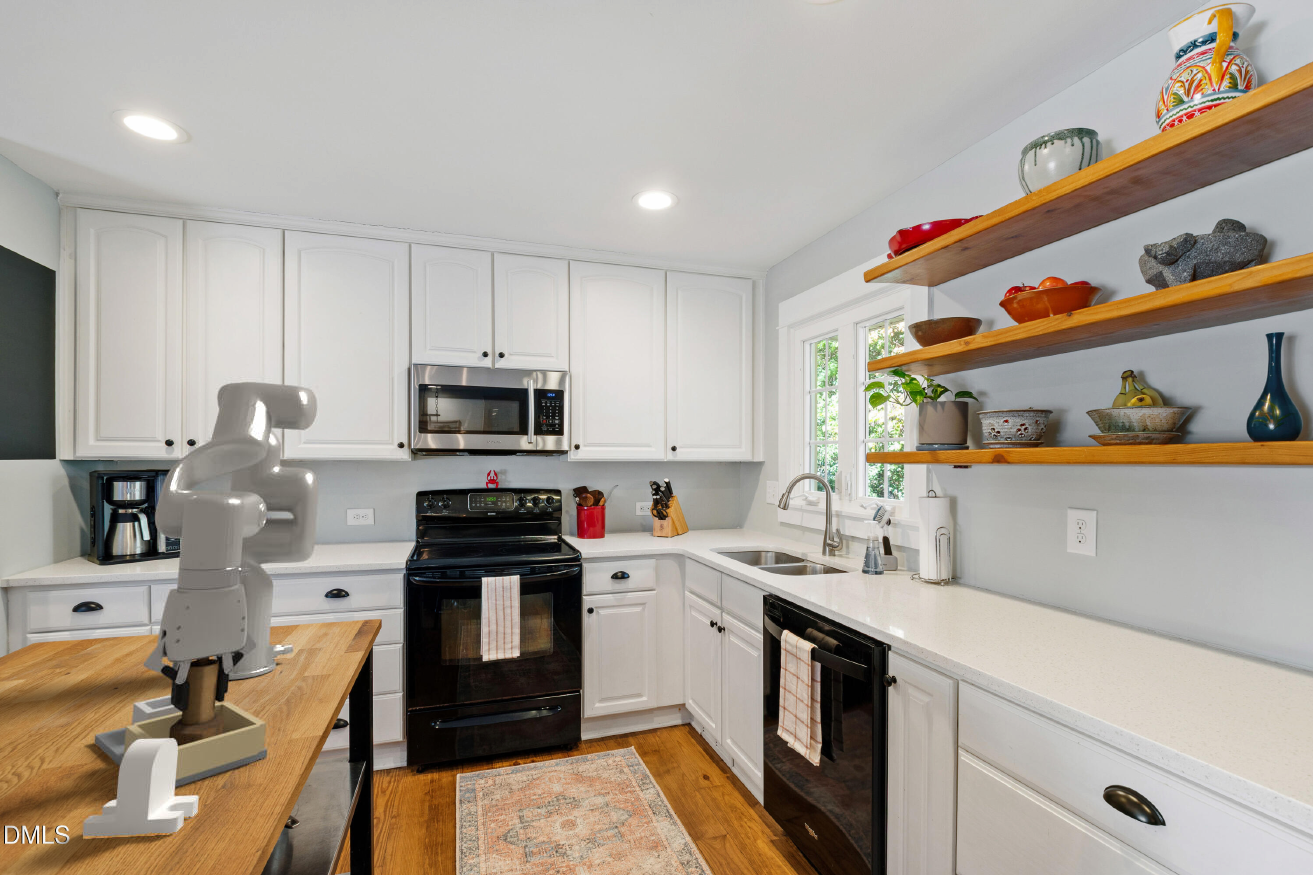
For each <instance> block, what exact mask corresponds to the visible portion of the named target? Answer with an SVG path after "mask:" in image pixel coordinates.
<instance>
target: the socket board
mask: <svg viewBox="0 0 1313 875" xmlns="http://www.w3.org/2000/svg"><path fill="white" fill-rule="evenodd" d="M215 713H216V714H218V715H219V716H220V717H222V718H223V719H224V730H223V734H220V735H217V736H213V737H210V738H206V739H203V740H199V741H196V742H192V743H188V744H185V745H181V746H178V756H177V768H176V780H175V788H177V787H180V786H184V785H187V784H190V783H193V782H195V781H199V780H202V779H204V778H208V777H211V776H214V775H217V774H221V773H223V772H226V771H229V770H233V769H236V768H240V767H242V766H245V765H248V763H249V764H251V762H252V763H255V762H257V760H258V761H260V760H259V759H261V760H263V758H264V759H266V758H265V757H267V756H268V749H267V748H266V747H265V737H266V725H267V722H265V721H263V720H261V719H260V718H258V717H256V716H254V715H253V714H251V713H249V712H248V711H246V710H244V709H242V708H240V707H238V706H237V705H235V704H233V703H232V702H229V701H223V702H217V703H216V702H215ZM131 717H132V719H131V725H126V726H125V727H121V728H117V729H113V730H109V731H107V732H101V733H97V734H95V735H94V742H95V743H96V744H97V745H98V746H99V747H100V748H101V749H100V748H99V747H98V746H97V745H96V744H95V743H94V744H95V745H96V746H97V747H98V748H99V749H100V750H101V751H103V752H104V754H106V753H107V754H108V755H109V756H110V757H111V758H112V761H114V763H116V764H117V765H118V766H119V767H120V765H121V762H122V759H123V757H124V755H125V753H126V751H127V750H128V748H129V747H130V746H131V744H132V743H134V742H135V741H136V740H138V739H162V738H169V732H170V727H171V726H172V725H173V724H175V723H176V722H177V721H178V720H179V719H181V718H182V712H181V711H179V710H178V709H177V708H175V707H174V706H173V705H172V704H171V694H169V695H164V696H160V697H157V698H156V697H155V698H151V699H148V700H147V699H146V700H143V701H142V700H141V701H138V702H134V703H133V709H132V716H131ZM107 754H106V755H107ZM108 755H107V756H108ZM109 756H108V757H109ZM110 757H109V758H110ZM111 758H110V759H111ZM267 758H268V757H267ZM254 761H255V762H254Z"/></svg>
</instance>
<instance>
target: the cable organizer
mask: <svg viewBox="0 0 1313 875" xmlns="http://www.w3.org/2000/svg"><path fill="white" fill-rule="evenodd" d="M177 756H178V745H177V742H176V740H175V739H173V738H162V739H138V740H136V741H135V742H134V743H132V744H131V746H130V747H129V748H128V750H127V751H126V753H125V755H124V757H123V759H122V762H121V765H120V766H119V770H118V771H119V772H118V780H117V789H116V790H117V791H116V793H117V794H116V799H112V800H110V801H108V802H107V803H105V804H104V805H103V806H102V810H101V811H102V812H101V814H100V815H99V814H98V815H89V816H88V817H87V818H86V819H84V821H83V825H82V835H84V836H116V835H118V836H119V835H121V836H123V835H125V836H126V835H137V834H140V835H141V834H148V833H173V832H177V831H178V830H179V829H180V828H181V827H182V826H183V827H184V822H185V819H184V816H185V817H189V816H190V817H193V816H194V815H195V814H196V813H197V814H198V809H199V808H198V807H199V795H193V794H192V795H175V788H176V787H175V780H176V768H177ZM197 814H196V815H197ZM196 815H195V816H196ZM195 816H194V817H195ZM194 817H193V818H194Z"/></svg>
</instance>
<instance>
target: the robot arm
mask: <svg viewBox="0 0 1313 875" xmlns="http://www.w3.org/2000/svg"><path fill="white" fill-rule="evenodd" d="M216 396H217V397H216V398H217V406H218V414H217V416H216V417H217V418H216V421H215V423H214V428H213V431H212V436H211V438H210V440H209V441H208V442H205V443H203V444H202V445H200V446H198V447H197V448H195V449H193V450H191V451H190V452H189V453H188V454H187V453H186V455H184V456H183V457H181V459H179V460H178V461H177V462H176V463H174V465H173V466H172V467H171V468H170V470H169V471H168V473H167V475H166V477H165V480H164V483H163V485H162V489H161V490H160V494H159V497H158V500H157V505H156V508H155V514H154V521H155V527H156V529H157V530H158V532H159V533H160V534H161V535H163V536H165V537H167V538H171V539H180V549H179V550H180V551H179V562H178V571H177V572H178V575H177V587H176V588H173V589H170V590H169V592H168V595H167V597H166V601H165V604H164V608H163V612H162V617H161V621H160V627H159V631H158V639H157V646H155V648H154V649H153V650H152V652H151V653H150V654H149V656H148V657H147V658H146V660H145V661H144V663H143V666H144V667H145V668H146V669H147V670H151V671H153V672H156V673H158V674H162V675H164V676H165V677H166V678H168V679H169V680H171V692H170V695H171V704H172V705H173V706H174V707H175V708H177V709H178V710H179V711H181V712H182V711H186V709H188V701H189V689H190V683H189V682H187V674H188V670H189V667H190V663H191V661H195V660H197V659H202V658H207V657H209V658H212V657H213V659H216V660H219V666H218V676H217V688H216V700H215V702H217V703H224V702H225V697H226V695H225V694H227V693H228V691H229V682H230V681H232V680H233V681H234V680H241V679H248V678H253V677H258V676H261V675H265V674H266V673H267V674H268V673H270V672H271V671H273V670H274V669H275V668H276V666H277V661H276V659H275V658H277V657H278V656H280V655H281V656H282V655H283V656H284V655H288V654H292V653H293V651H294V646H293V644H292V643H290V644H283V645H282V644H274V645H273V644H270V635H271V624H272V623H271V622H272V611H273V598H274V597H273V596H274V583H273V579H272V577H271V576H270V575H269V573H268V572H267V571H266V570H265V569H264V568H263V567H262V565H266V564H284V563H285V564H292V563H293V564H295V563H296V564H297V563H302V562H305V561H308V560H309V559H310V558H311V557H312V555H313V553H314V549H315V544H316V532H317V530H316V528H317V514H318V512H317V511H318V501H319V500H318V498H319V497H318V496H319V495H318V494H319V493H318V492H319V485H318V484H319V483H318V479H317V476H316V474H315V473H314V471H313V470H310V469H308V468H303V467H289V466H288V467H283V466H281V453H282V452H281V451H282V444H281V441H280V438H279V437H278V436H277V434H276V433H275V431H274V430H273V429H278V430H279V429H281V430H294V431H295V430H298V431H304V430H305V431H306V430H307V429H309V428H310V427H311V426H312V425H313V423H314V421H315V419H316V416H317V413H318V401H317V396H316V394H315V392H314V391H313V390H312V389H311V388H307V387H303V386H297V385H291V384H290V385H288V384H277V383H266V382H256V381H255V382H253V381H245V382H233V383H232V382H231V383H226V384H223V385H222V386H221V387H220V388H219V389H218V391H217V395H216ZM228 474H231V476H230V490H228V491H227V490H226V491H225V490H203V489H201V490H198V489H193V488H195V487H196V486H198V485H200V484H201V483H203V482H206V481H209V480H210V479H213V478H217V477H220V476H224V475H228ZM268 512H269V513H270V512H271V513H272V512H273V513H275V512H281V513H289V514H290V515H292V517H289V518H288V517H282V518H281V517H267V516H268ZM164 658H167V661H168V662H170V663H171V665H169V664H167V663H164V662H163V659H164Z"/></svg>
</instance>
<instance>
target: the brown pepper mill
mask: <svg viewBox="0 0 1313 875" xmlns="http://www.w3.org/2000/svg"><path fill="white" fill-rule="evenodd" d="M218 666H219V660H216V659H214V658H210V657H207V658H202V659H197V660H191V663H190V667H189V670H188V674H187V682H189V683H190V689H189V701H188V709H186V711H182V718H181V719H179V720H178V721H177V722H176V723H175V724H173V725H172V726H171V727H170V732H169V738H173V739H175V740H176V742H177V745H178V746H181V745H185V744H188V743H192V742H196V741H199V740H203V739H206V738H210V737H213V736H217V735H220V734H223V730H224V719H223V718H222V717H220V716H219V715H218V714H216V713H215V704H216V688H217V676H218Z"/></svg>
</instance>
